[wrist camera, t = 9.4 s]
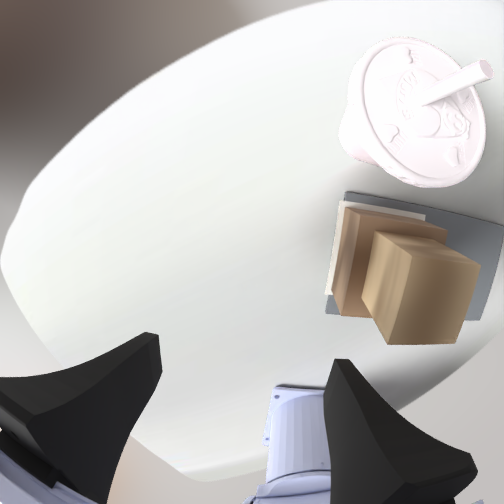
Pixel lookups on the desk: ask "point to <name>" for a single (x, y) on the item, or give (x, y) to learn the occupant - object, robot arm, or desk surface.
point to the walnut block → (368, 252)
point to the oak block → (418, 289)
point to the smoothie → (415, 113)
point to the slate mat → (458, 238)
